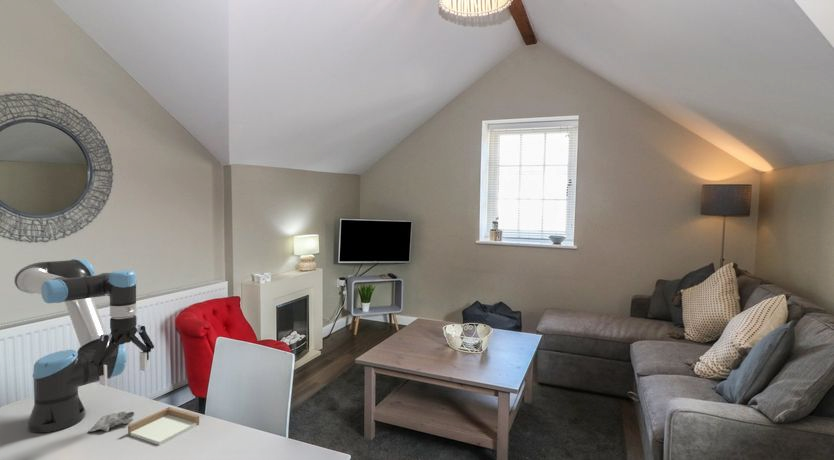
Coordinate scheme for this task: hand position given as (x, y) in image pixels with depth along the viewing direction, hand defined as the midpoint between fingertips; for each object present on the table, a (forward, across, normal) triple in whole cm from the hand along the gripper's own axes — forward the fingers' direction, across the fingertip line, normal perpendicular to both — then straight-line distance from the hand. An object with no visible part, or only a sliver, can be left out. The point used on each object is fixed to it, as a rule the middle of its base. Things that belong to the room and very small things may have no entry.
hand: (124, 377), depth 150 cm
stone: (+18, 0, 0) cm, 18 cm away
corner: (+16, +2, -16) cm, 23 cm away
